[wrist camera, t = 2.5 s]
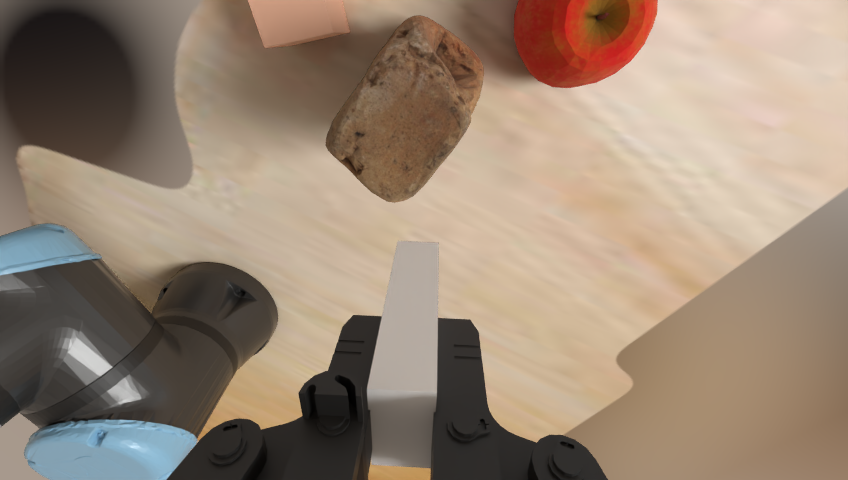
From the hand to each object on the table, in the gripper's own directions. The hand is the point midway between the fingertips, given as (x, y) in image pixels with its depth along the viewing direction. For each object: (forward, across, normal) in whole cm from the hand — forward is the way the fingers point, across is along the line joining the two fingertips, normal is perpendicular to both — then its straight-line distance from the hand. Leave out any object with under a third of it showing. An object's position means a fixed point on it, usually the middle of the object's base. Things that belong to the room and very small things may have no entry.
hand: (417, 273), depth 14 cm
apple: (+30, +12, +9) cm, 34 cm away
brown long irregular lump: (+30, -2, +3) cm, 30 cm away
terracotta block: (+30, -12, +10) cm, 34 cm away
